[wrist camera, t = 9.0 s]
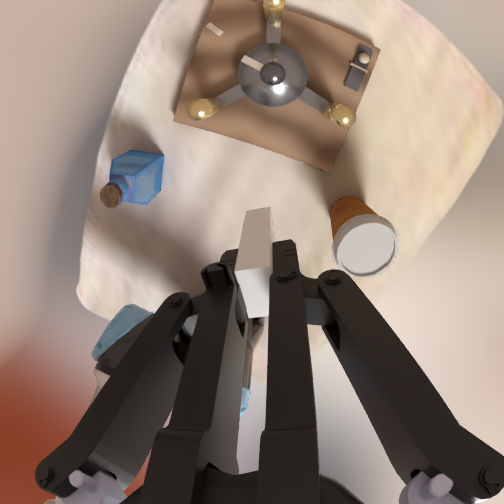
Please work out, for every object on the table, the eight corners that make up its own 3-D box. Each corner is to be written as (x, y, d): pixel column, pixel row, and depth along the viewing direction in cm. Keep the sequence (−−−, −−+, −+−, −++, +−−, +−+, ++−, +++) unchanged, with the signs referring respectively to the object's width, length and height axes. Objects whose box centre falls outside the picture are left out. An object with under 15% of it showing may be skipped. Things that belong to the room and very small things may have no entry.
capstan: (369, 68, 30) (396, 64, 22) (300, 165, 39) (307, 186, 31) (270, 7, 26) (269, -17, 18) (203, 109, 35) (182, 114, 27)
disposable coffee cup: (323, 242, 48) (335, 286, 38) (317, 191, 43) (330, 225, 33) (375, 234, 46) (399, 275, 36) (373, 183, 41) (402, 214, 31)
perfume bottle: (130, 150, 41) (90, 171, 31) (164, 155, 42) (130, 177, 31) (128, 184, 44) (92, 213, 34) (160, 190, 45) (129, 222, 35)
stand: (327, 169, 41) (331, 176, 38) (177, 120, 38) (169, 122, 35) (376, 51, 30) (384, 48, 27) (219, -3, 27) (214, -10, 24)
